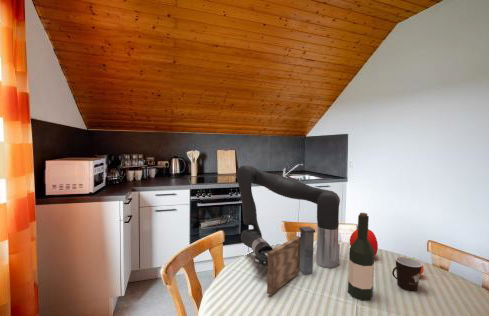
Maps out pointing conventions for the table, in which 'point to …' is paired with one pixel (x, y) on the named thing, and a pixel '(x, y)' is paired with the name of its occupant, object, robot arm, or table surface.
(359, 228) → the wine bottle
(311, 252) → the gate post
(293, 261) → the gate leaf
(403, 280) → the coffee mug
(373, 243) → the tomato
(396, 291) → the table surface
